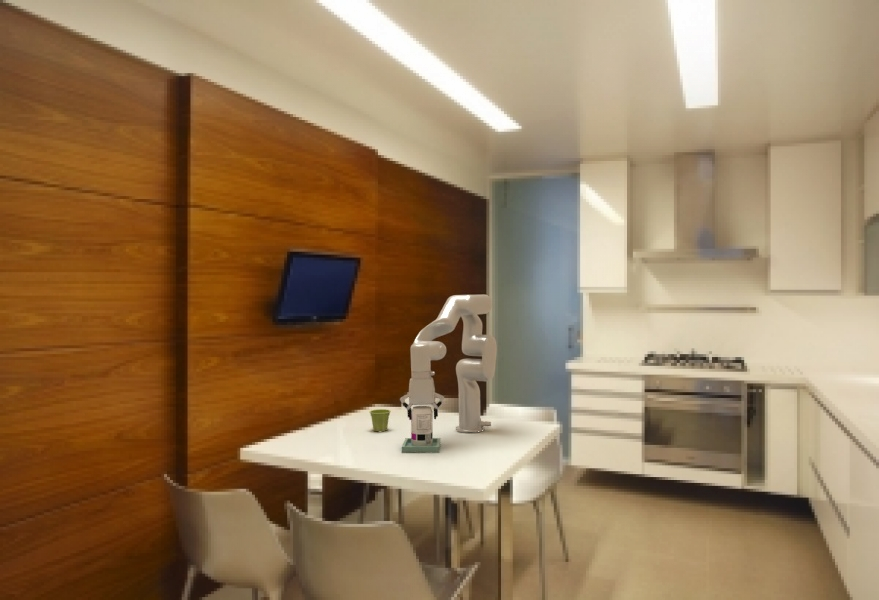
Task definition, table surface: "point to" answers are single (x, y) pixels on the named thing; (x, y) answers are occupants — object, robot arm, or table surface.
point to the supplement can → (421, 426)
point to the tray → (421, 447)
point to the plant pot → (380, 419)
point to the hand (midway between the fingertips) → (422, 418)
